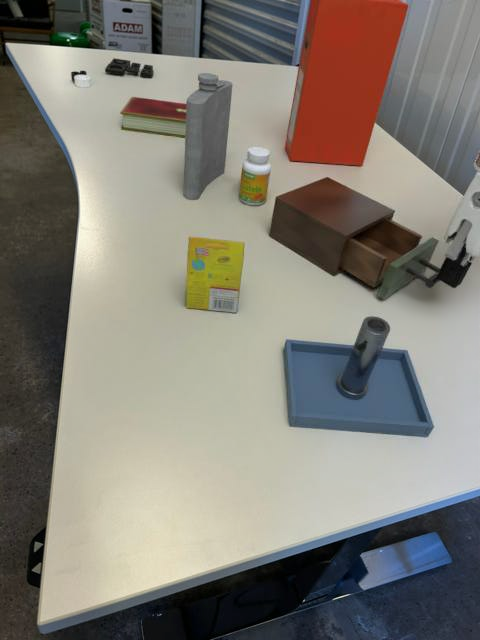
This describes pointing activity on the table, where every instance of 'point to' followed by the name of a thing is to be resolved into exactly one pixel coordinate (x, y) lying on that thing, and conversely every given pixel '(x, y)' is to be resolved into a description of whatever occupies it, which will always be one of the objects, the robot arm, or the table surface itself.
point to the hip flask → (206, 133)
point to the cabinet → (323, 220)
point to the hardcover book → (154, 117)
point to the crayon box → (214, 274)
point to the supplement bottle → (255, 176)
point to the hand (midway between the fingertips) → (447, 281)
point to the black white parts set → (113, 71)
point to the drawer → (389, 257)
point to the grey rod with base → (363, 358)
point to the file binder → (342, 78)
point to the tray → (346, 414)
